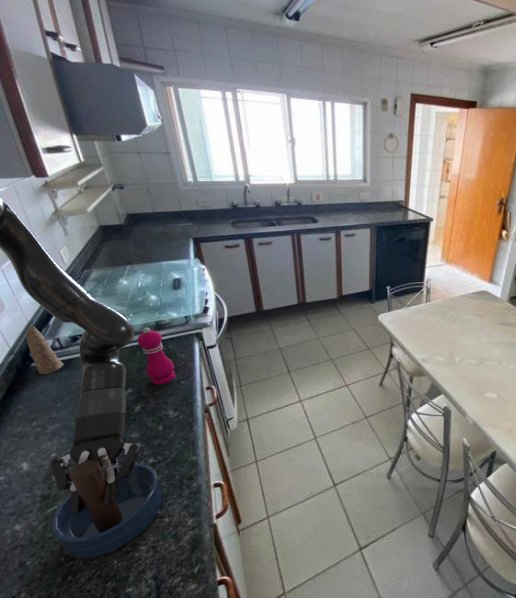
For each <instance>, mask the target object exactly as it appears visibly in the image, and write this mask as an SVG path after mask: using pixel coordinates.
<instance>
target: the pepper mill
mask: <svg viewBox="0 0 516 598" xmlns="http://www.w3.org/2000/svg"><path fill="white" fill-rule="evenodd" d="M162 340H163V338H162V334H161V333H160V332H159V331H156V330H151V329H150V328H149V327H144V328H142V333H140V334H139V336H138V337H137V344H138V346H139V347H141V348H142V351H143V354H146V356H147V366H146V373H147V376H148V377H149V378H151V381H152V383H153V384H154V385H159V386H160V385H164V384H168V383H170V382H171V381H173V380H175V379H176V377H177V375H176V373H175V364H174V362H173V361H172V360H171V359H170V358H169V357H168V356H166V354H165V352H164V351H163V347H164V346H163V343H162Z"/></svg>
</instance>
